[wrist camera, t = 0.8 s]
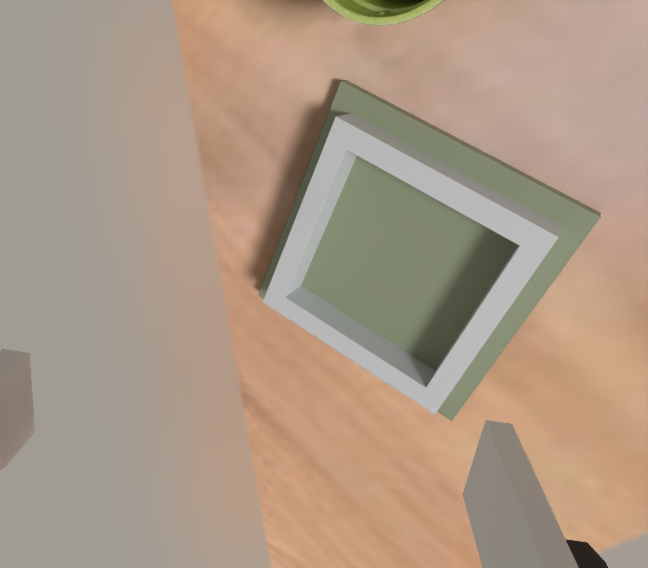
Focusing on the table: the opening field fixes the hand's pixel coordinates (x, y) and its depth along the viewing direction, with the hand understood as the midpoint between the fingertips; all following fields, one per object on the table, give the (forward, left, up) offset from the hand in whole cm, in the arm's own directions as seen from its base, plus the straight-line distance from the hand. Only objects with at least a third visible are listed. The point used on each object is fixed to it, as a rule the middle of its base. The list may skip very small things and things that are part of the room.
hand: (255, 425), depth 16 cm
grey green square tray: (+4, -2, -25) cm, 25 cm away
